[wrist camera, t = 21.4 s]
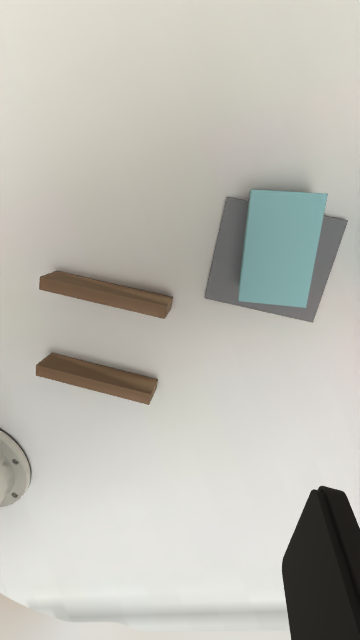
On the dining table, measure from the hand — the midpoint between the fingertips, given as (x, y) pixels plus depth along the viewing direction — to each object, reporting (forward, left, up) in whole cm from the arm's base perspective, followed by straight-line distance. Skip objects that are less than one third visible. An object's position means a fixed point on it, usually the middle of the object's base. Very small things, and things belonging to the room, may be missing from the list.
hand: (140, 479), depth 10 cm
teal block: (+5, -5, -23) cm, 24 cm away
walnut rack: (-7, +9, -24) cm, 26 cm away
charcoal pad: (+4, -5, -24) cm, 25 cm away
